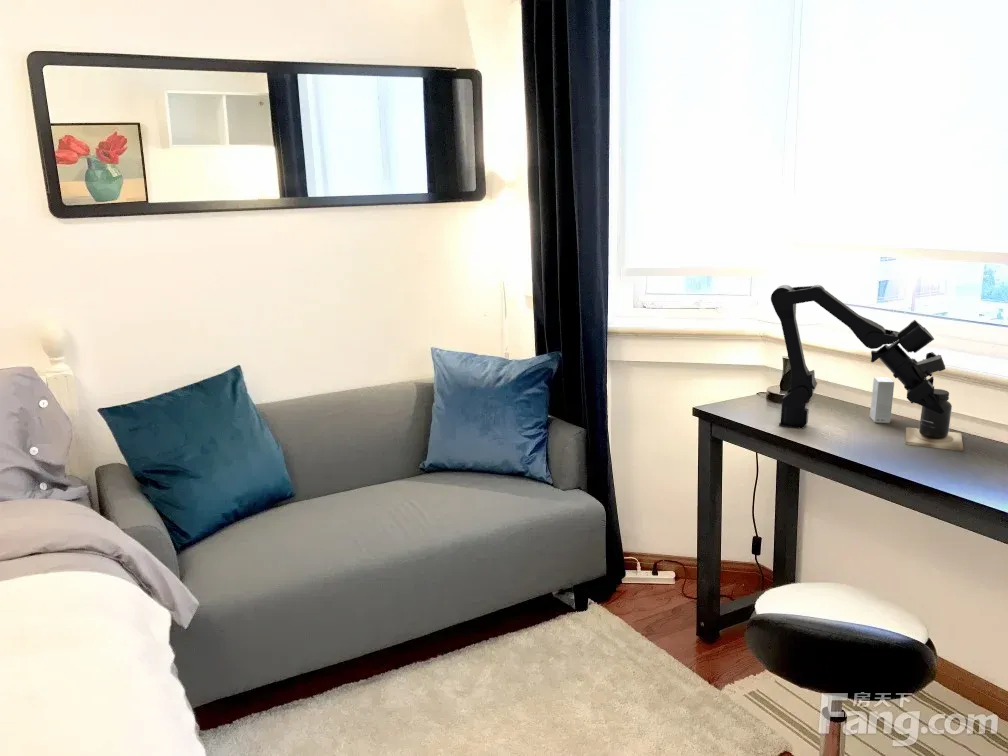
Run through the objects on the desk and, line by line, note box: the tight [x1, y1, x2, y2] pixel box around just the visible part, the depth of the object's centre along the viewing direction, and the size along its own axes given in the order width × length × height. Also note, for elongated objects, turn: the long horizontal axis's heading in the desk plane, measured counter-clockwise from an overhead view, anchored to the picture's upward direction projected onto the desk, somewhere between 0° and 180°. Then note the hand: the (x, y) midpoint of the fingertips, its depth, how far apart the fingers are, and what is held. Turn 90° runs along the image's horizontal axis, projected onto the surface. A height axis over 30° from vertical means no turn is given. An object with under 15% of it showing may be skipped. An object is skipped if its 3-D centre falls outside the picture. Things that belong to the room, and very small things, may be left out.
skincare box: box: [869, 376, 895, 424], centre depth 226 cm, size 6×4×12 cm
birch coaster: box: [905, 427, 964, 452], centre depth 210 cm, size 13×13×1 cm
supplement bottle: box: [918, 388, 953, 439], centre depth 208 cm, size 7×7×12 cm
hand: (942, 409), depth 207 cm, fingers closed on supplement bottle, 7 cm apart
